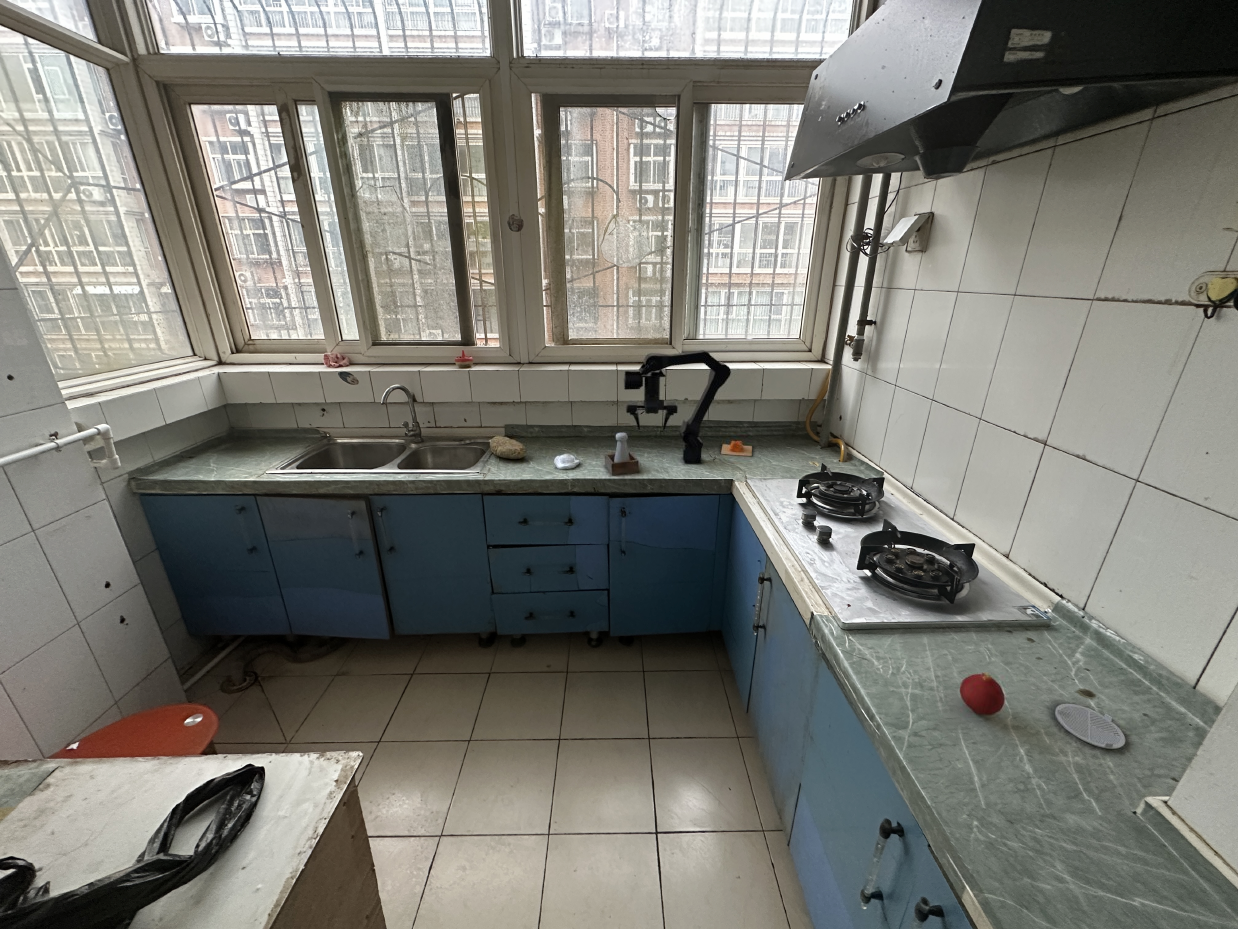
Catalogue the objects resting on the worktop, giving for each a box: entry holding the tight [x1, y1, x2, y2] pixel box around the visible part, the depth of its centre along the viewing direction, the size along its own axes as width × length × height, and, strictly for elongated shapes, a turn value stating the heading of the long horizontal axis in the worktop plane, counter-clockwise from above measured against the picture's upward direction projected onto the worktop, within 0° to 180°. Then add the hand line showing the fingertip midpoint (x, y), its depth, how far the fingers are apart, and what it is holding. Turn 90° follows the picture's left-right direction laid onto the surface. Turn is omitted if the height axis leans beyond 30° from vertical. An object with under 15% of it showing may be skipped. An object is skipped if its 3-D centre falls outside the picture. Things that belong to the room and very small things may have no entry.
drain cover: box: [1054, 703, 1126, 750], centre depth 79 cm, size 8×8×1 cm
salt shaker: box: [614, 432, 630, 462], centre depth 183 cm, size 6×6×13 cm
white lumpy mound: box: [553, 453, 580, 470], centre depth 189 cm, size 10×4×10 cm
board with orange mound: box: [720, 440, 753, 457], centre depth 203 cm, size 12×12×4 cm
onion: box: [959, 672, 1006, 716], centre depth 81 cm, size 6×6×8 cm
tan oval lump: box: [489, 435, 527, 460], centre depth 199 cm, size 13×8×20 cm
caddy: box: [604, 451, 640, 476], centre depth 185 cm, size 10×10×5 cm
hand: (651, 429), depth 187 cm, fingers open, 9 cm apart
